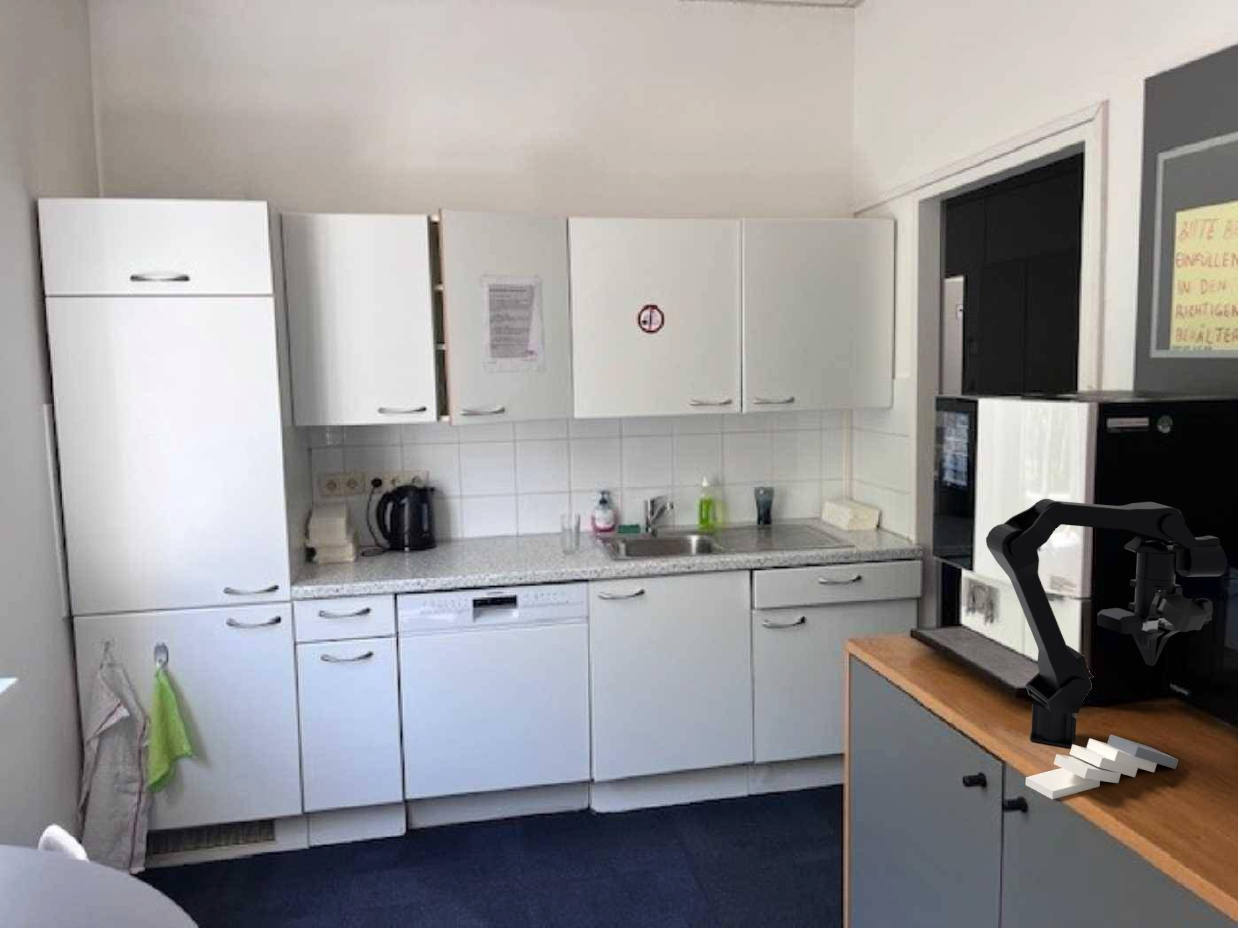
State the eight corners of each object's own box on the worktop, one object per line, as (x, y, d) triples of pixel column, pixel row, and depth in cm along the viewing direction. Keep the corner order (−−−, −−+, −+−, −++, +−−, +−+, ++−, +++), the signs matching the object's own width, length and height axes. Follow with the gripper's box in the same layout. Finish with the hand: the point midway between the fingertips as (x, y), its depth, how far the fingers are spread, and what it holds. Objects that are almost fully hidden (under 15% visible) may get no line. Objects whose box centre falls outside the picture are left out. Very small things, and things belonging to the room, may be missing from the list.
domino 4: (1153, 772, 140) (1114, 760, 136) (1125, 759, 145) (1086, 747, 141) (1157, 762, 140) (1117, 750, 136) (1128, 750, 145) (1089, 738, 141)
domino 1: (1099, 788, 136) (1052, 801, 133) (1071, 774, 141) (1025, 786, 137) (1100, 778, 136) (1052, 791, 132) (1072, 764, 141) (1025, 777, 137)
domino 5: (1175, 768, 141) (1134, 756, 138) (1147, 756, 146) (1107, 743, 142) (1178, 759, 141) (1138, 746, 138) (1150, 747, 146) (1110, 734, 142)
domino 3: (1134, 777, 139) (1099, 767, 134) (1104, 763, 143) (1069, 753, 139) (1137, 767, 139) (1102, 757, 134) (1108, 754, 143) (1072, 744, 139)
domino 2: (1118, 783, 137) (1084, 778, 132) (1087, 769, 141) (1053, 763, 136) (1121, 773, 137) (1087, 768, 132) (1090, 759, 141) (1056, 753, 136)
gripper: (1152, 593, 140) (1147, 687, 142) (1242, 583, 145) (1235, 674, 147) (1096, 577, 150) (1092, 665, 152) (1182, 568, 156) (1176, 653, 157)
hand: (1150, 664), depth 152 cm, fingers closed
